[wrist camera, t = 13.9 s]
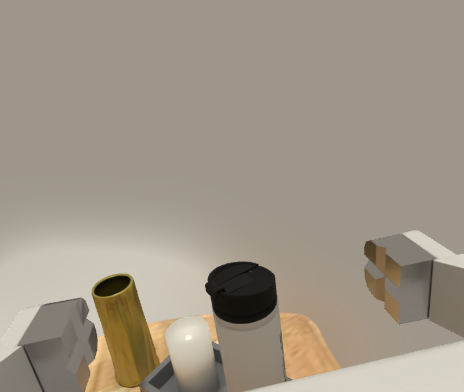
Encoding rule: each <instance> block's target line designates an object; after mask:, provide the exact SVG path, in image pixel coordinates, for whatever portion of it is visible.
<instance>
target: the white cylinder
mask: <svg viewBox="0 0 464 392" xmlns="http://www.w3.org/2000/svg"><path fill="white" fill-rule="evenodd" d="M165 339H166V343H167V347H168V351H169V355H170V359H171V362H172V366H173V370H174V374H175V378H176V382H177V386H178V389H179V392H218V390H219V387H220V381H219V376H218V371H217V366H216V361H215V356H214V352H213V347H212V342H211V337H210V332H209V327H208V323H207V322H206V320H204V319H203V318H201V317H198V316H187V317H183V318H180V319H178V320H176V321H175V322H173V323H172V324H171V325H170V326H169V327H168V329H167V330H166V333H165Z"/></svg>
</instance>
